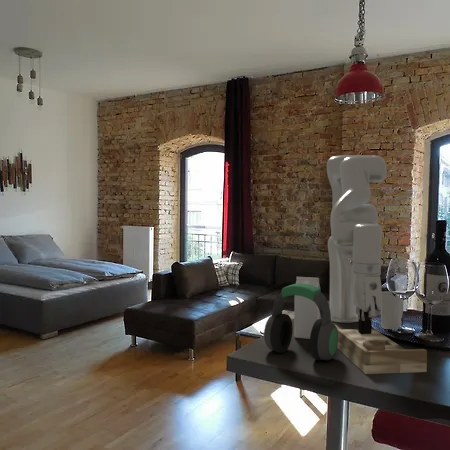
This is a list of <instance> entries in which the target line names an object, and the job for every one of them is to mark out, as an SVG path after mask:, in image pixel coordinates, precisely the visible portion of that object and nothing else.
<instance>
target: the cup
mask: <svg viewBox="0 0 450 450" xmlns="http://www.w3.org/2000/svg"><path fill="white" fill-rule="evenodd" d="M391 292H392V291H391V290H390V291H382V310H381V311H380V323H381V324H380V326H381V327H382V328H384V329H396V328H399V327H400V326H401V327H402V321H401V318H402V319H403V311H404V310H403V308H404V300H405V299H404V300H403V299H401V298H400V297H399V296H396V297H395V296H394V295H393V294H392V293H391ZM381 327H380V328H381ZM382 328H381V329H382ZM384 329H383V330H384Z"/></svg>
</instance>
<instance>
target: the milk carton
mask: <svg viewBox="0 0 450 450" xmlns="http://www.w3.org/2000/svg"><path fill="white" fill-rule="evenodd" d="M298 283H302V284H309V285H313V286H315V287H317V288H319V289H320V290H321V286H320V278H319V277H309V276H307V277H305V276H296V281H295V284H298ZM293 304H294V308H293V309H294V313H293V318H294V319H293V322H294V323H293V324H294V325H293V326H294V327H293V331H294V332H293V333H294V334H293V336H294V338H297V339H306V340H310V335H311V330H312V327H313V325H314V323H315V321H316V320H318V319H321V316H320V312H319V309H318V307H317V305H316V303H315V302H314V301H312V300H310V299H308V298H306V297H303V296H297V295H294V303H293Z"/></svg>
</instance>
